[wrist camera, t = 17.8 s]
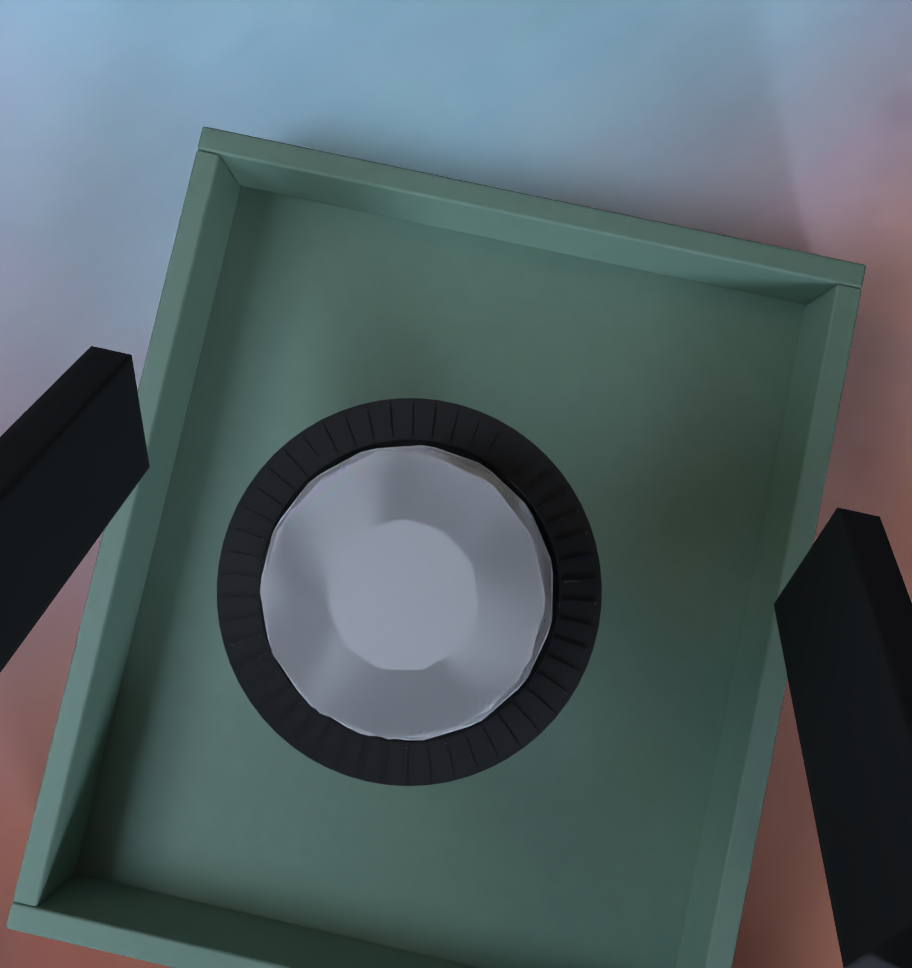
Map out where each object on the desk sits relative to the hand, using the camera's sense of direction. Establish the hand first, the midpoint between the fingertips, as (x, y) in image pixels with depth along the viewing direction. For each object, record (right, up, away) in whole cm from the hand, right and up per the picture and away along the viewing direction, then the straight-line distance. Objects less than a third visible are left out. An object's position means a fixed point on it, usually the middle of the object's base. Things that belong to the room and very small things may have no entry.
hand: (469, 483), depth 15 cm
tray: (-1, -3, +5) cm, 6 cm away
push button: (-1, -3, +5) cm, 6 cm away
